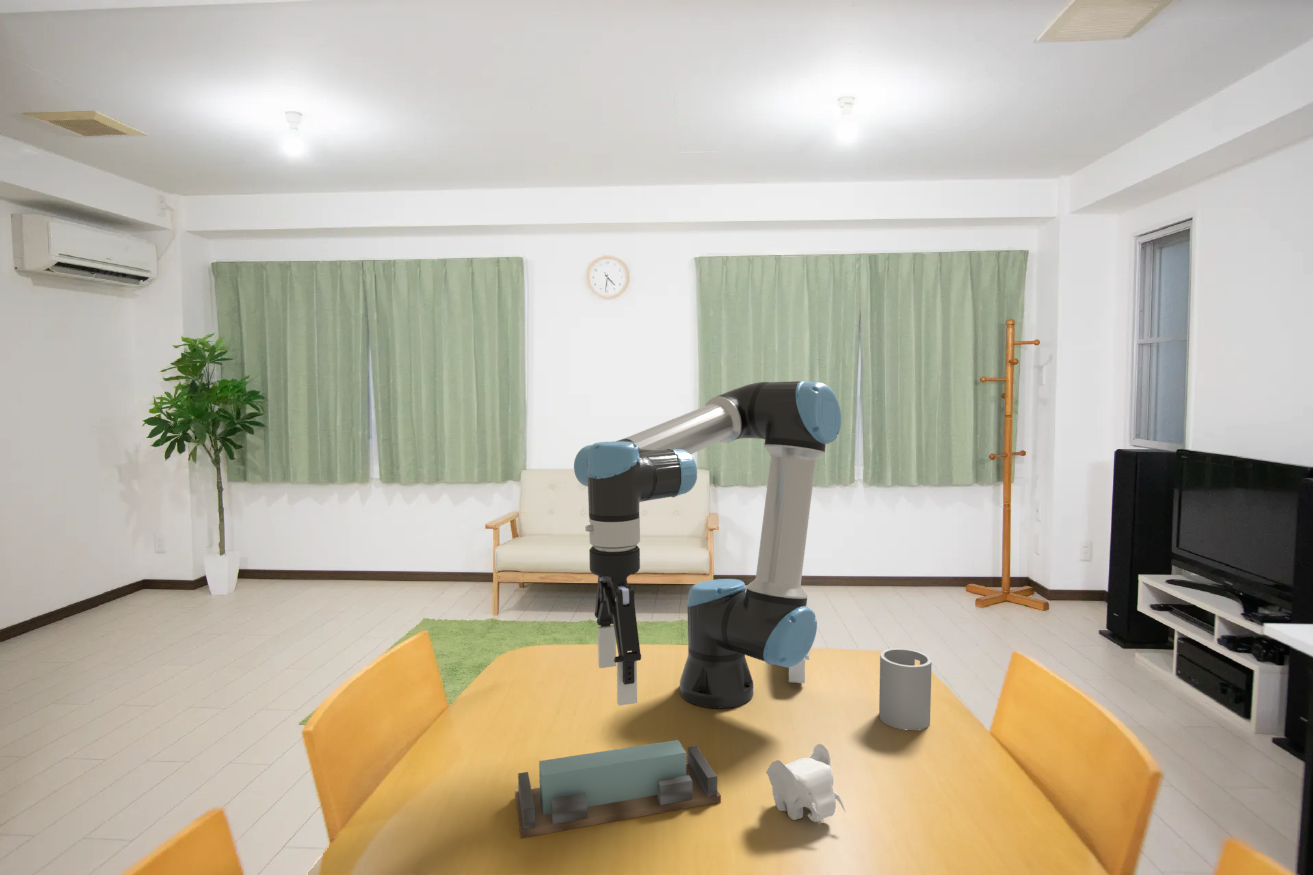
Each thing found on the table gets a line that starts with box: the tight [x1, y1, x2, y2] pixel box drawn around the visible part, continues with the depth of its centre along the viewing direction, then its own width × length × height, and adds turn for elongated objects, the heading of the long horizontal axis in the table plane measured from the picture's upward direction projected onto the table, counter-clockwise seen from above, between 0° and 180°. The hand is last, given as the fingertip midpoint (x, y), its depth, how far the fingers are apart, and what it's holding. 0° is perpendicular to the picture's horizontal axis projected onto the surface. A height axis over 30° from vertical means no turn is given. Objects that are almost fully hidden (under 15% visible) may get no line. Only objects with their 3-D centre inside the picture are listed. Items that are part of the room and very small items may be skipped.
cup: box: [878, 647, 932, 731], centre depth 133 cm, size 9×9×12 cm
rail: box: [538, 739, 687, 815], centre depth 107 cm, size 22×4×6 cm, turn 106°
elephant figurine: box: [765, 743, 846, 823], centre depth 104 cm, size 10×12×9 cm
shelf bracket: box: [788, 650, 811, 684], centre depth 159 cm, size 6×25×13 cm, turn 169°
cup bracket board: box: [514, 745, 722, 839], centre depth 107 cm, size 30×10×4 cm, turn 106°
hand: (616, 683), depth 106 cm, fingers open, 13 cm apart
